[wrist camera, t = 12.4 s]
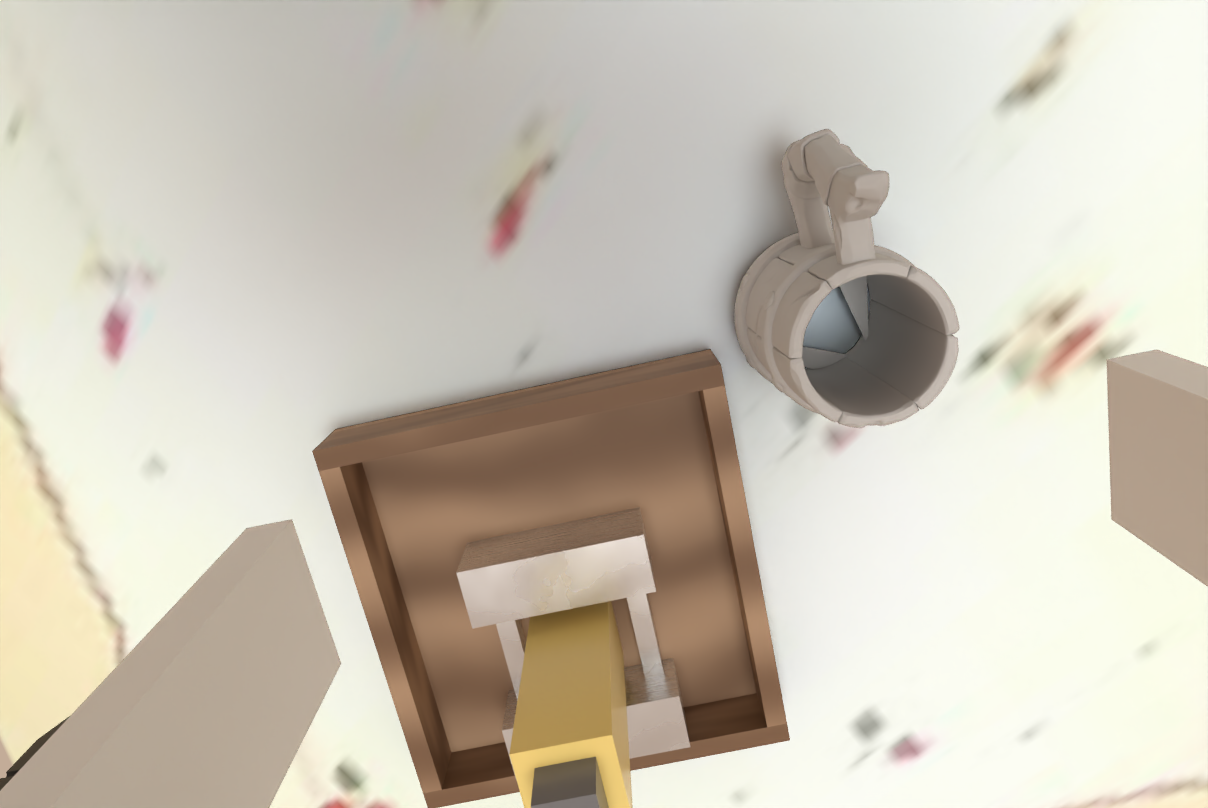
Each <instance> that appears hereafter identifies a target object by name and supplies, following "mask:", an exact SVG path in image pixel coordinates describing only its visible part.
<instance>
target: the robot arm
mask: <svg viewBox="0 0 1208 808" xmlns="http://www.w3.org/2000/svg"><path fill="white" fill-rule="evenodd" d="M1107 386H1108V420H1109V453H1110V486H1111V519H1112V520H1113V521H1115V522H1116V523H1117V524H1119V525H1120V526H1122V527H1123V528H1125V529H1126V530H1127V531H1129V532H1130V533H1132V534H1133V535H1135V536H1136V537H1137V538H1139V539H1140V540H1142V541H1143V542H1145V543H1146V544H1147V545H1149V546H1150V547H1152V548H1153V549H1155V550H1156V551H1157V552H1159V553H1160V554H1162V555H1163V556H1165V557H1166V558H1168V559H1169V560H1170V561H1172V562H1173V563H1175V564H1176V565H1178V566H1179V567H1180V568H1182V569H1183V570H1185V571H1186V572H1188V573H1189V574H1190V575H1192V576H1193V577H1195V578H1196V579H1198V580H1199V581H1200V582H1202V583H1203V584H1205V585H1206V586H1208V367H1206V366H1203V365H1200V364H1197V363H1194V362H1192V361H1189V360H1186V359H1183V358H1180V357H1177V356H1174V355H1171V354H1168V353H1165V352H1162V351H1159V350H1152V351H1147V352H1142V353H1137V354H1132V355H1127V356H1122V357H1116V358H1111V359H1107ZM340 665H341V662H340V659H339V656H338V653H337V650H336V647H335V644H334V641H333V638H332V635H331V632H330V629H329V627H328V624H327V621H326V618H325V615H324V612H323V609H322V606H321V603H320V600H319V597H318V594H317V591H316V589H315V586H314V583H313V580H312V577H311V574H310V571H309V568H308V565H307V562H306V559H305V556H304V553H303V551H302V548H301V545H300V542H299V539H298V536H297V533H296V530H295V527H294V524H293V521H292V519H291V520H286V521H281V522H276V523H271V524H266V525H261V526H256V527H250V528H246V529H245V530H244V532H243V533H242V534H241V535H240V536H239V537H238V538H237V539H236V540H235V541H234V542H233V543H232V544H231V545H230V546H229V548H228V549H227V550H226V551H225V552H224V553H223V554H222V555H221V556H220V557H219V558H218V559H217V560H216V561H215V562H214V564H213V565H212V566H211V567H210V568H209V569H208V570H207V571H206V572H205V573H204V574H203V575H202V576H201V577H200V578H199V579H198V581H197V582H196V583H195V584H194V585H193V586H192V587H191V588H190V589H189V590H188V591H187V592H186V593H185V594H184V595H183V597H182V598H181V599H180V600H179V601H178V602H177V603H176V604H175V605H174V606H173V607H172V608H171V609H170V610H169V611H168V613H167V614H166V615H165V616H164V617H163V618H162V619H161V620H160V621H159V622H158V623H157V624H156V625H155V626H154V627H153V628H152V630H151V631H150V632H149V633H148V634H147V635H146V636H145V637H144V638H143V639H142V640H141V641H140V642H139V643H138V644H137V646H136V647H135V648H134V649H133V650H132V651H131V652H130V653H129V654H128V655H127V656H126V657H125V658H124V659H123V660H122V662H121V663H120V664H119V665H118V666H117V667H116V668H115V669H114V670H113V671H112V672H111V673H110V674H109V675H108V676H107V678H106V679H105V680H104V681H103V682H102V683H101V684H100V685H99V686H98V687H97V688H96V689H95V690H94V691H93V692H92V693H91V695H90V696H89V697H88V698H87V699H86V700H85V701H84V702H83V703H82V704H81V705H80V706H79V707H78V708H77V709H76V711H75V712H74V713H73V714H72V715H71V716H69V717H68V718H67V719H65V720H64V721H62V722H61V723H60V724H58V725H57V726H56V727H54V728H53V729H51V730H50V731H49V732H47V733H46V734H45V735H43V736H42V737H40V738H39V739H38V740H37V741H36V742H35V743H34V744H33V745H32V746H31V747H30V748H29V749H28V750H27V751H26V752H25V753H24V754H23V755H22V756H21V757H20V758H19V759H18V761H17V762H16V763H15V764H14V765H13V766H12V767H11V768H10V769H9V770H8V771H7V772H6V773H7V777H6V778H1V779H0V808H269V807H270V805H271V803H272V801H273V799H274V797H275V795H276V793H277V791H278V789H279V787H280V785H281V783H282V781H283V779H284V777H285V775H286V773H287V771H288V769H289V767H290V765H291V763H292V761H293V759H294V757H295V755H296V753H297V751H298V749H299V747H300V745H301V743H302V741H303V739H304V737H305V735H306V733H307V731H308V729H309V727H310V725H311V723H312V721H313V719H314V717H315V715H316V713H317V711H318V709H319V707H320V705H321V703H322V701H323V699H324V697H325V695H326V693H327V691H328V689H329V687H330V685H331V683H332V681H333V679H334V677H335V675H336V673H337V671H338V669H339V667H340Z"/></svg>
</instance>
